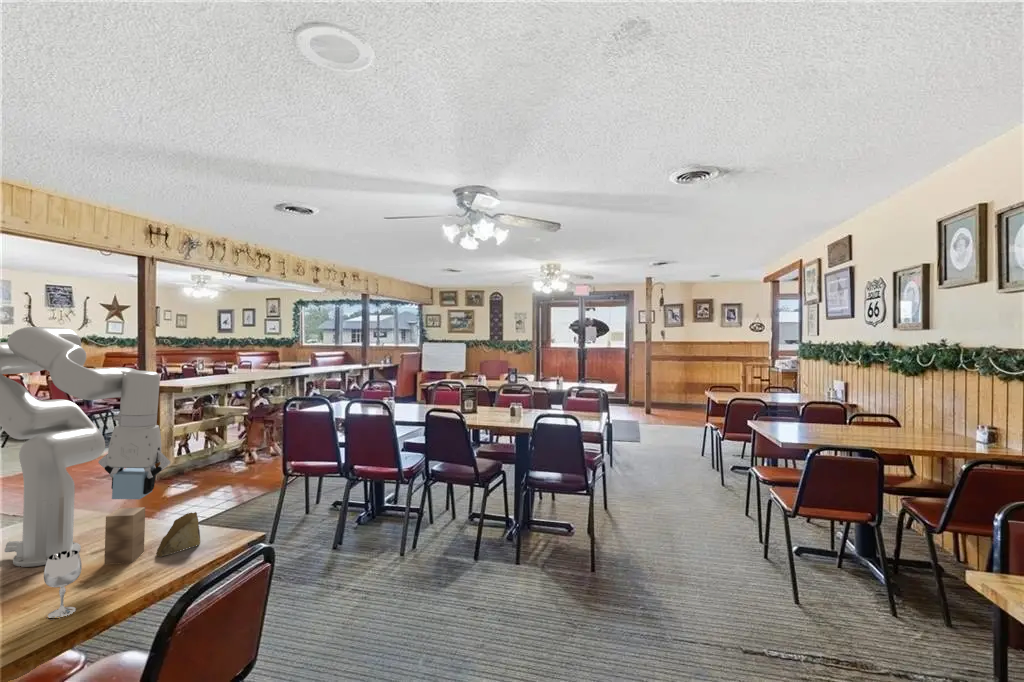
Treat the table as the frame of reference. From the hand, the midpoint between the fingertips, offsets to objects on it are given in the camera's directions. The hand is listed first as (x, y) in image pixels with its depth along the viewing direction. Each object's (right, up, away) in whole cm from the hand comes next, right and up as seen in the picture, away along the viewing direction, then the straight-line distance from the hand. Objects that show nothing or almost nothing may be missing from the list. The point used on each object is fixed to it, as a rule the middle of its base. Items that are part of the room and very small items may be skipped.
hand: (132, 491), depth 123 cm
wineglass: (+2, -19, -22) cm, 29 cm away
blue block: (0, -1, 0) cm, 1 cm away
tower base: (-5, -18, +3) cm, 19 cm away
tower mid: (-5, -12, +3) cm, 14 cm away
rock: (+5, -19, +10) cm, 22 cm away
